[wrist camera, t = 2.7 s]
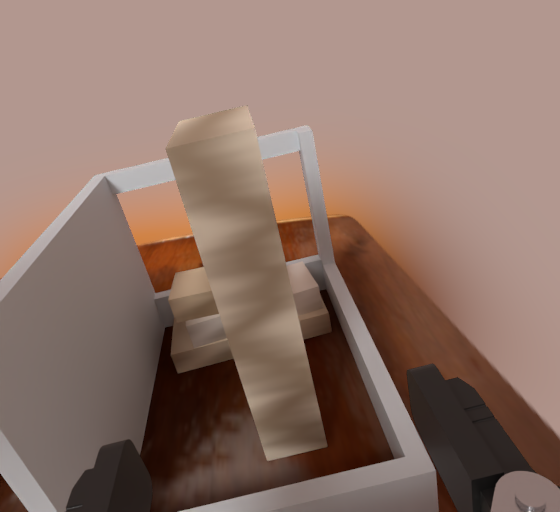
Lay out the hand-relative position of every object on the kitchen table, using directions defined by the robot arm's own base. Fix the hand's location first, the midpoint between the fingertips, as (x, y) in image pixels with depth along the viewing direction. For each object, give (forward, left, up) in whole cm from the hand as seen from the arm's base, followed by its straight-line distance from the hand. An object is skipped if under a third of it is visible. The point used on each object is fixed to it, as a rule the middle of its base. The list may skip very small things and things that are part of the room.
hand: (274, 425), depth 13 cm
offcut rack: (-2, +14, -11) cm, 18 cm away
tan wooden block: (0, +11, -11) cm, 16 cm away
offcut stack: (-2, +21, -12) cm, 24 cm away
